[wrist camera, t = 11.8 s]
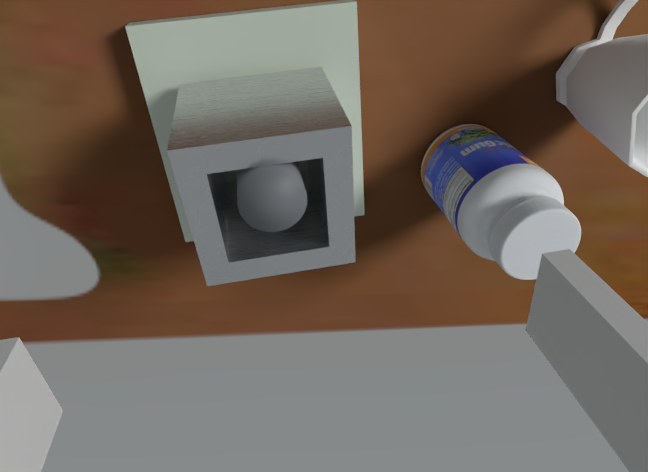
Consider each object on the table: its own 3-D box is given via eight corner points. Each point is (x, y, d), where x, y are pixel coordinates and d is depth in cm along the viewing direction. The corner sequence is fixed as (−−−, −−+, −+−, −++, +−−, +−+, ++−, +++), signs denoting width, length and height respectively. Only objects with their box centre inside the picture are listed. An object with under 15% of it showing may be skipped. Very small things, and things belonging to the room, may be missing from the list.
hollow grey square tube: (179, 83, 23) (167, 150, 18) (321, 66, 24) (351, 125, 18) (210, 203, 27) (207, 286, 22) (329, 185, 28) (355, 262, 23)
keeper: (129, 22, 23) (78, 63, 15) (351, -1, 24) (407, 25, 16) (186, 231, 29) (171, 334, 22) (360, 206, 31) (403, 295, 23)
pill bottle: (512, 126, 29) (620, 197, 21) (483, 204, 32) (569, 294, 24) (431, 116, 28) (512, 187, 20) (408, 197, 31) (471, 290, 23)
